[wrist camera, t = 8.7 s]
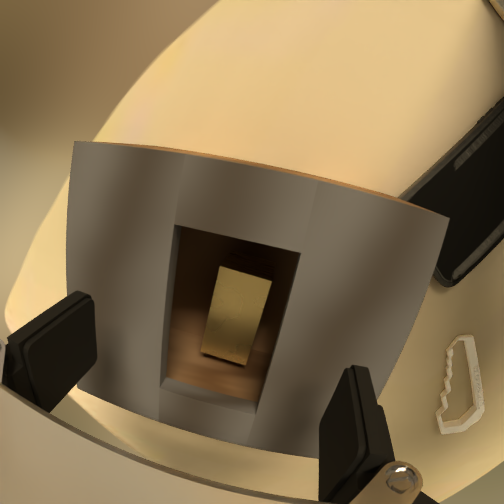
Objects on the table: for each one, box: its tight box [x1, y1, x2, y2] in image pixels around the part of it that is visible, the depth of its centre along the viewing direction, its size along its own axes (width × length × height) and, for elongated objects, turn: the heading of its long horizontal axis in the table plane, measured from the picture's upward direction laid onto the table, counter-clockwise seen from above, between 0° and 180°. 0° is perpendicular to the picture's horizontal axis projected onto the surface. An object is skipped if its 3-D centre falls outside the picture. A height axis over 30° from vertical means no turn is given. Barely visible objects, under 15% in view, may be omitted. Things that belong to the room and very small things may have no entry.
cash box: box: [66, 141, 450, 459], centre depth 18 cm, size 16×14×9 cm
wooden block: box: [201, 250, 276, 365], centre depth 20 cm, size 3×6×4 cm, turn 165°
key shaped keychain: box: [435, 335, 485, 435], centre depth 22 cm, size 13×5×2 cm, turn 29°
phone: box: [398, 97, 504, 287], centre depth 18 cm, size 8×1×15 cm
